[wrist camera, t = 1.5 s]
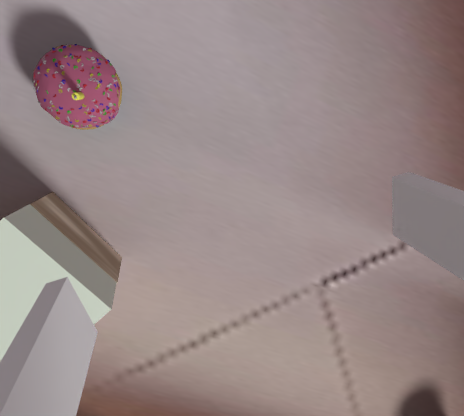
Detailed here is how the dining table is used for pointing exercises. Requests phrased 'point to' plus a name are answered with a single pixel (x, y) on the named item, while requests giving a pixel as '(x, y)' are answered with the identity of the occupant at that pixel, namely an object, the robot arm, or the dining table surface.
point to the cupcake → (77, 86)
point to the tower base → (79, 233)
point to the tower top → (43, 271)
